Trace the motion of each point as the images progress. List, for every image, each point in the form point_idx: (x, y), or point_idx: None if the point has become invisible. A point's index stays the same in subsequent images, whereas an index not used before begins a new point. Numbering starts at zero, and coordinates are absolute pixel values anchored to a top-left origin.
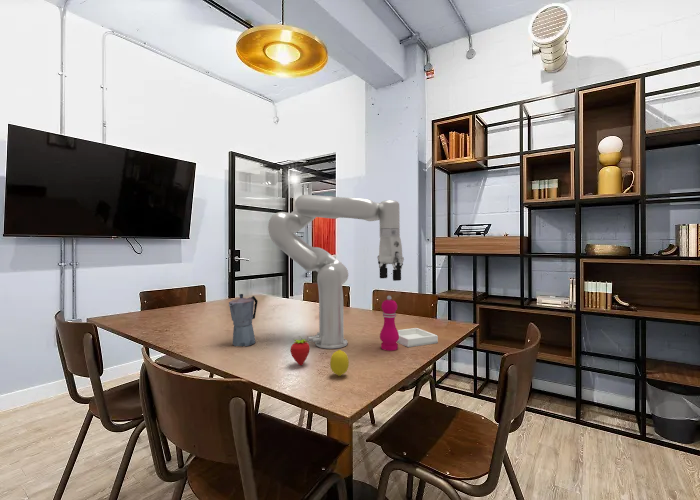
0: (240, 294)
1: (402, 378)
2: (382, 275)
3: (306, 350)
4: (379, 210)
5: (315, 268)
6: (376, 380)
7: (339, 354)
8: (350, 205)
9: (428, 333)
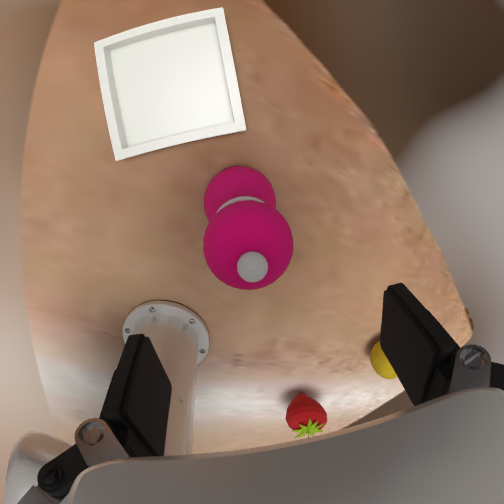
0: None
1: (436, 242)
2: (163, 391)
3: (322, 410)
4: None
5: None
6: (422, 289)
7: None
8: None
9: (180, 24)
